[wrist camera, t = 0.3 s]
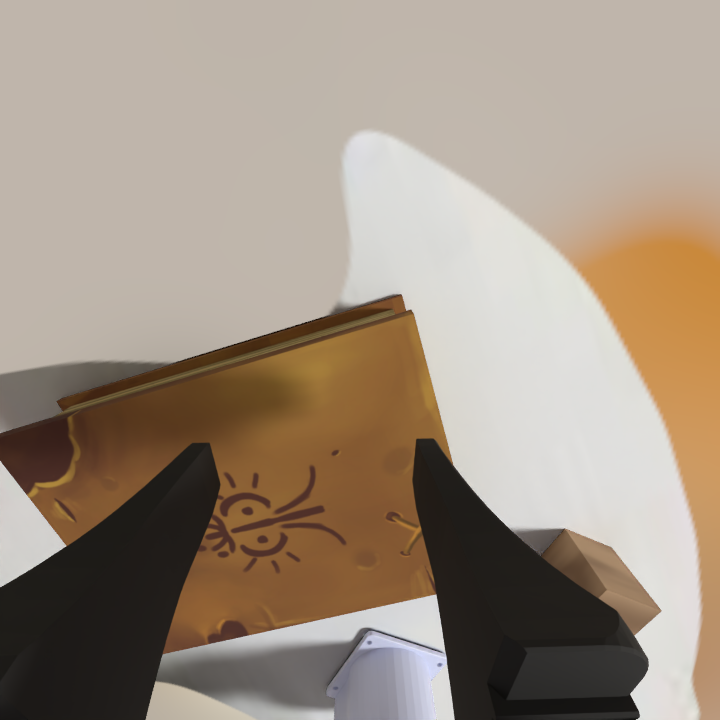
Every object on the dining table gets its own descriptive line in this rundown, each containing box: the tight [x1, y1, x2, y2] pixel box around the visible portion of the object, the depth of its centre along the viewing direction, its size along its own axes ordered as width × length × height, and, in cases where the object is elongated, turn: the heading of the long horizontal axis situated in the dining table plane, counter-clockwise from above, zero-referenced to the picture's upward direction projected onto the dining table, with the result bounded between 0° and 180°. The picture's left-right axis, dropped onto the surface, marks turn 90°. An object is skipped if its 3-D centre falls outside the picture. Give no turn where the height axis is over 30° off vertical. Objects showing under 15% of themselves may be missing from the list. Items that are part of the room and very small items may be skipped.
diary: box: [0, 295, 453, 654], centre depth 23 cm, size 23×19×6 cm
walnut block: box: [541, 529, 661, 635], centre depth 26 cm, size 4×4×5 cm
